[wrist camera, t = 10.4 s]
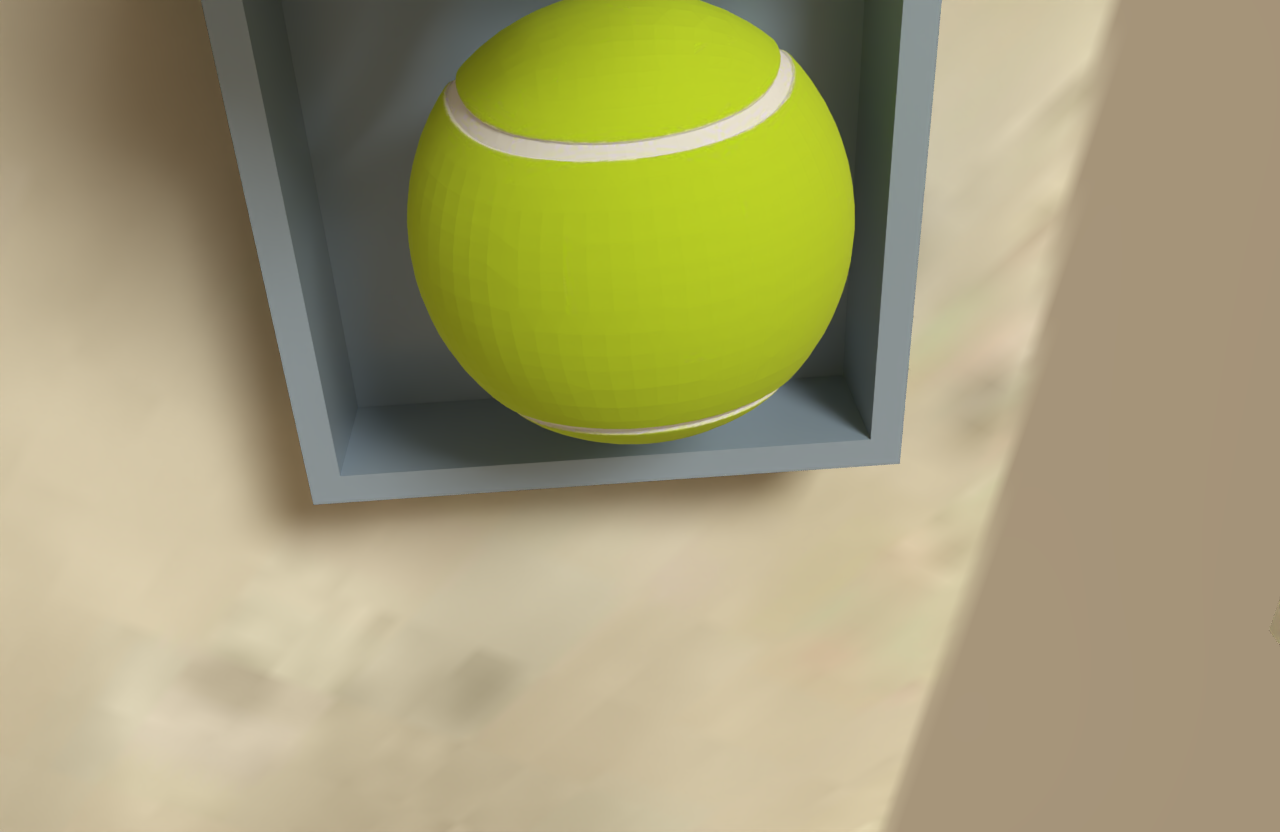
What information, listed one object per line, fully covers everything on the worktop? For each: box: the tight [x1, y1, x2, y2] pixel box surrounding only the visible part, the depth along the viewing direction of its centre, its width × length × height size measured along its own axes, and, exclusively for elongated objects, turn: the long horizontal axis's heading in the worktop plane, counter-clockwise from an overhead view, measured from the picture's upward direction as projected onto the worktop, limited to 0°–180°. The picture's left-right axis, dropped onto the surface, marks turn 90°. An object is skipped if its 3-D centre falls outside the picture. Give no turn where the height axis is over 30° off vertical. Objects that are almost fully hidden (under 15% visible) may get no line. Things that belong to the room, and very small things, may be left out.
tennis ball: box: [407, 0, 855, 444], centre depth 19 cm, size 7×7×7 cm
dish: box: [201, 0, 942, 505], centre depth 21 cm, size 11×11×3 cm
